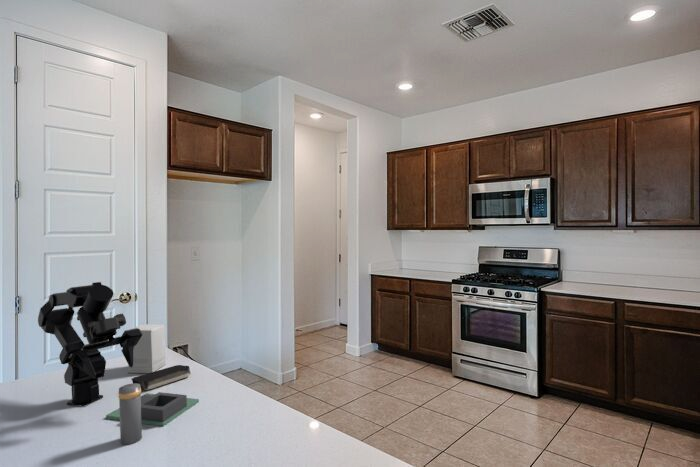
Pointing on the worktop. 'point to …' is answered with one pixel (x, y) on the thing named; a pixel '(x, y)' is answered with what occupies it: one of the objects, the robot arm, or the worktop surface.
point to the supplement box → (149, 349)
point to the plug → (130, 413)
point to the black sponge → (162, 377)
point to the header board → (160, 408)
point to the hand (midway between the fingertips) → (114, 371)
